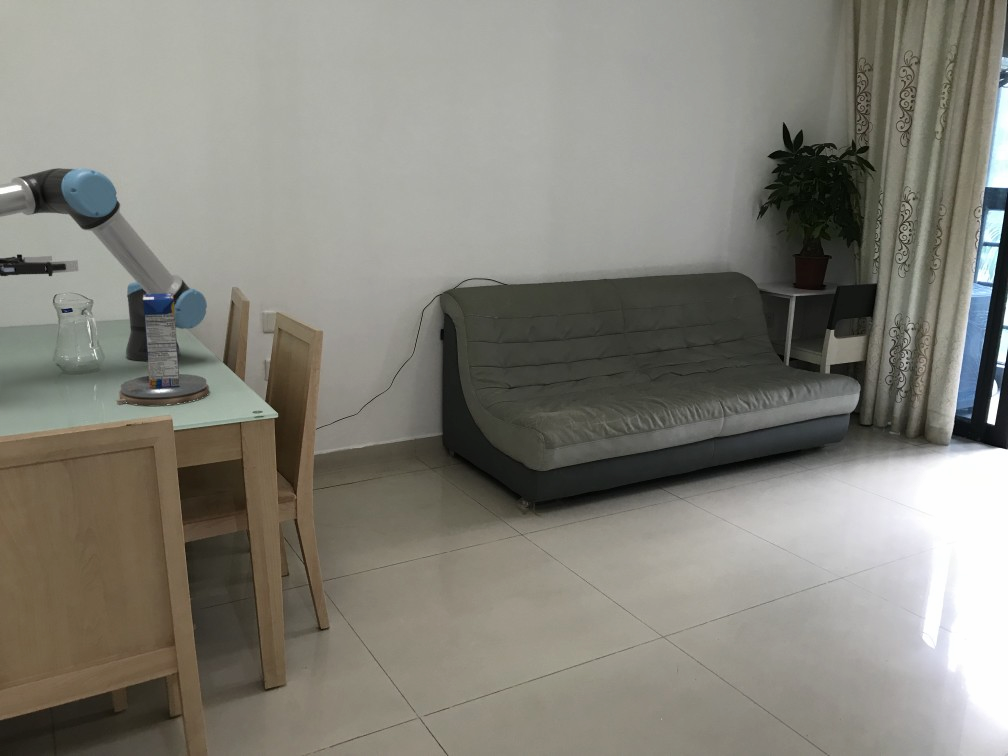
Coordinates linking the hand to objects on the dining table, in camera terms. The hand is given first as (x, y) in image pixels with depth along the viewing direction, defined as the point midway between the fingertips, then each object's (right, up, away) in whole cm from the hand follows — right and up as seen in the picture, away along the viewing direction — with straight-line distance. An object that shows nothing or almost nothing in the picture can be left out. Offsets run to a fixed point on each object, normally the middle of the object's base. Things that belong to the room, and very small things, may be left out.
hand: (64, 263), depth 204 cm
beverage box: (+25, -30, +1) cm, 39 cm away
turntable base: (+25, -33, +2) cm, 41 cm away
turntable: (+25, -32, +1) cm, 40 cm away
